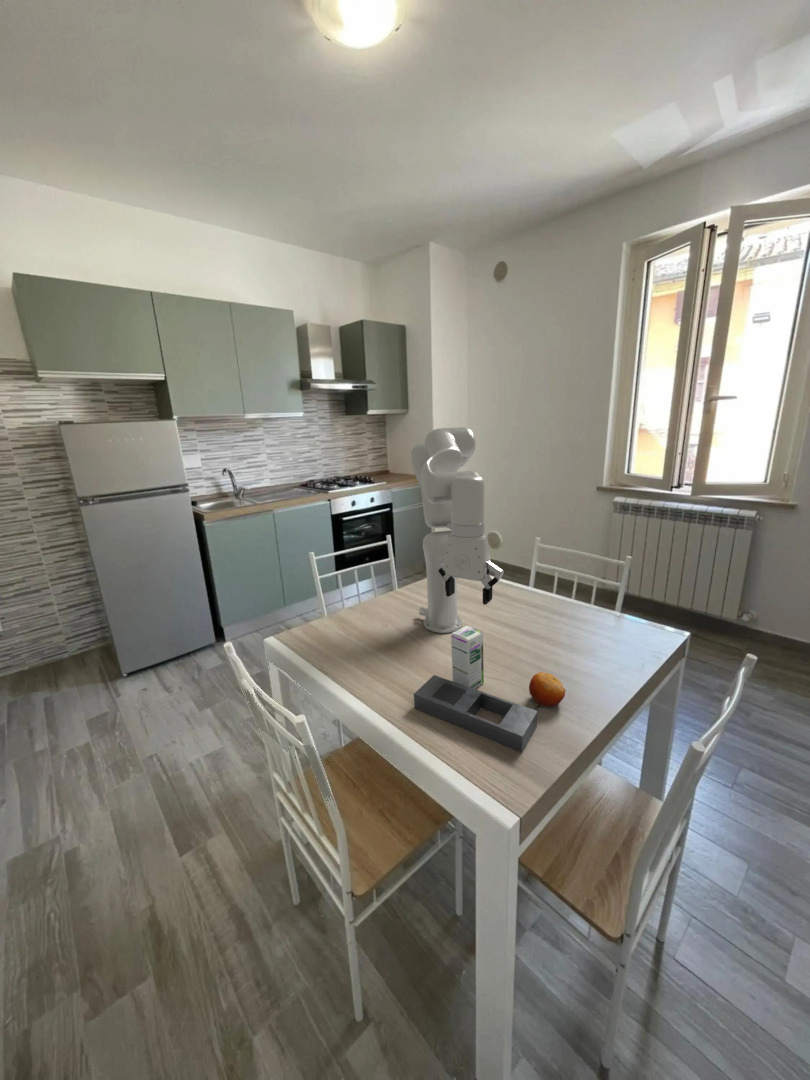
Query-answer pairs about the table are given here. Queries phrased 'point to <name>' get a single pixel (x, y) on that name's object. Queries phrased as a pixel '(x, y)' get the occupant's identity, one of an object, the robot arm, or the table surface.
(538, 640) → the table surface
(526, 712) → the grey slotted holder
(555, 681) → the fruit
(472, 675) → the syrup box
